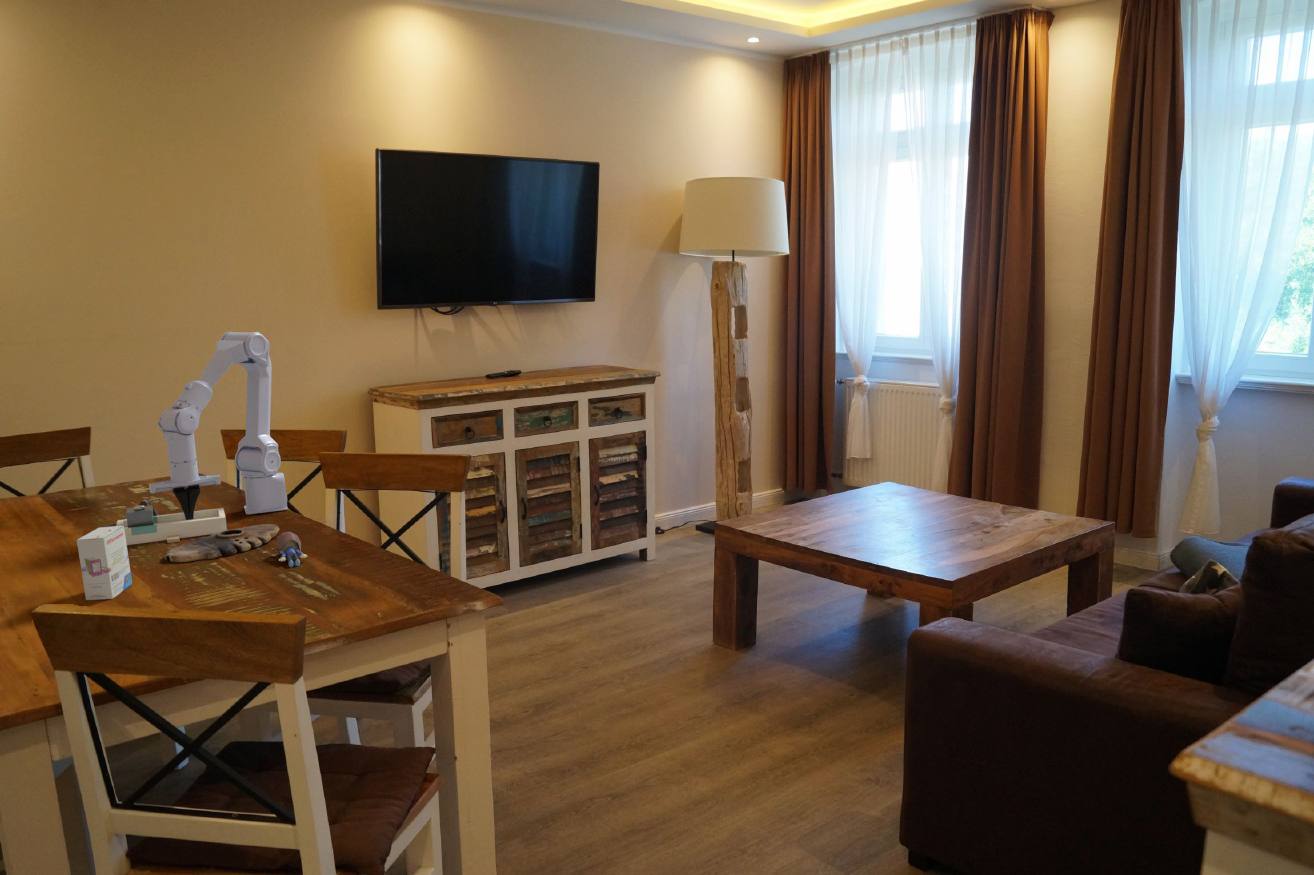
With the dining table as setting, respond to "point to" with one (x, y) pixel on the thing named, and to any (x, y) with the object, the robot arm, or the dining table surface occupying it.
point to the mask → (223, 543)
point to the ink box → (104, 562)
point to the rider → (139, 516)
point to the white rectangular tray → (176, 527)
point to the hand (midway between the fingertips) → (189, 519)
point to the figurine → (289, 548)
